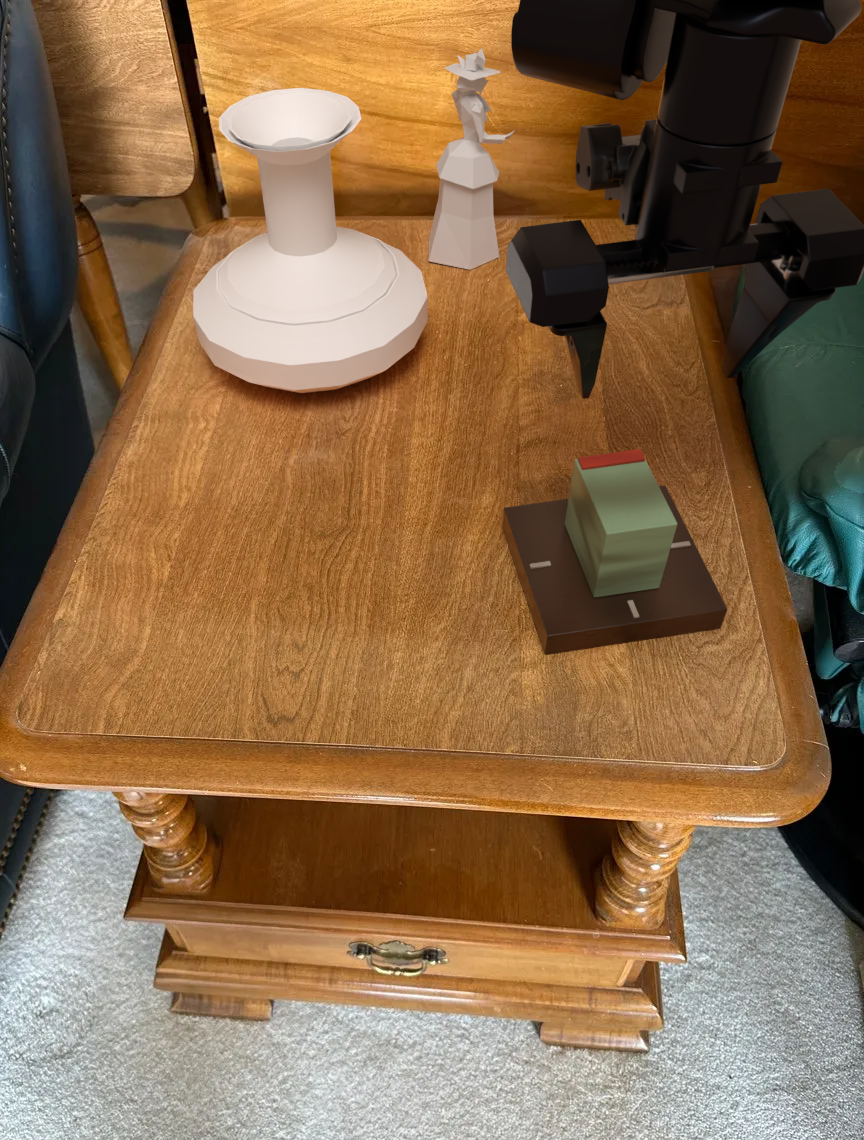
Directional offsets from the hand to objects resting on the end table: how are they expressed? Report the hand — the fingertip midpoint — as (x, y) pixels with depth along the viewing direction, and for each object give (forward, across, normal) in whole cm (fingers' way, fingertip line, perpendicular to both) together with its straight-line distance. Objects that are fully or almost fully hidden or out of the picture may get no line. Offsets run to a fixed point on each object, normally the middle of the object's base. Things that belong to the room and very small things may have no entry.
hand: (655, 384), depth 59 cm
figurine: (+13, +2, -40) cm, 43 cm away
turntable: (+13, +2, +4) cm, 14 cm away
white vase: (+13, +19, -28) cm, 36 cm away
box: (+11, +2, +4) cm, 12 cm away
